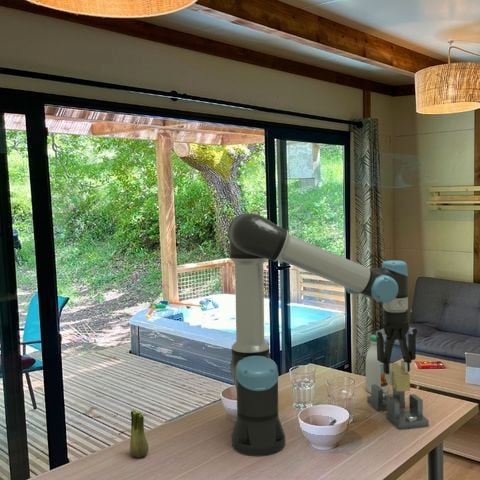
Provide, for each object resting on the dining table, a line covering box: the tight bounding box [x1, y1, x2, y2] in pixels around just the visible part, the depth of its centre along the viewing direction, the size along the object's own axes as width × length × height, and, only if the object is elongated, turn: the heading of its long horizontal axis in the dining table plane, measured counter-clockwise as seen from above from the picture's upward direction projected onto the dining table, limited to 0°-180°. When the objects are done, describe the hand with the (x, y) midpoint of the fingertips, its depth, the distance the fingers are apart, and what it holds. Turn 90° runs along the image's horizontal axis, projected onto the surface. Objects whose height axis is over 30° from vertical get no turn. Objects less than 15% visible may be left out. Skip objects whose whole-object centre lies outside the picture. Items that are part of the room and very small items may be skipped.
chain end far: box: [366, 384, 406, 412], centre depth 169 cm, size 10×8×7 cm
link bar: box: [385, 362, 411, 392], centre depth 162 cm, size 12×4×5 cm, turn 1°
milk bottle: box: [365, 334, 389, 394], centre depth 182 cm, size 8×8×20 cm
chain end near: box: [385, 393, 430, 431], centre depth 155 cm, size 10×8×7 cm
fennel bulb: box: [129, 409, 149, 458], centre depth 139 cm, size 6×5×12 cm
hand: (396, 382), depth 162 cm, fingers closed on link bar, 4 cm apart
